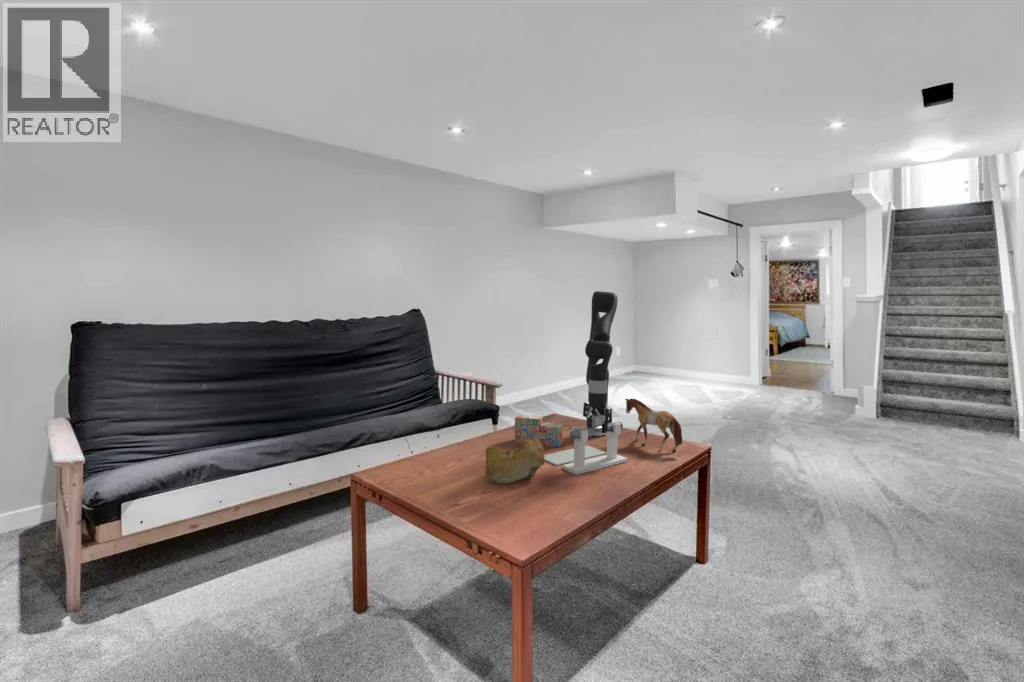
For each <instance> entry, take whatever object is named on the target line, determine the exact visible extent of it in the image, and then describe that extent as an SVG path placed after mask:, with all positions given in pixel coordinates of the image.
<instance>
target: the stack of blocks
mask: <svg viewBox="0 0 1024 682" xmlns="http://www.w3.org/2000/svg"><path fill="white" fill-rule="evenodd" d="M532 438H537V439H539V441H540V443H541V444H542V446H543V447H544V446H545V447H546V446H547V447H554V448H555V447H556V448H560V447H561V445H562V444H563V424H562V423H554V422H553V423H552V422H544V415H534V414H533V415H532V414H523V413H521V414H520V413H518V414H517V415H516V416H515V417H514V443H516V442H521V443H520V444H523V443H524V442H525V441H527V440H529V439H532Z"/></svg>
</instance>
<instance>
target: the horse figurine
mask: <svg viewBox="0 0 1024 682" xmlns="http://www.w3.org/2000/svg"><path fill="white" fill-rule="evenodd" d="M624 400H625V401H626V403H625V404H626V407H625V413H626V414H631V411H632V410H633V409H635V411H636V413H637V414H638V417H637V418H638V419H637V420H638V421H639V423H640V425H639V426H638V428H637V431H636V435H635V441H639V440H640V438H639V434H640V431H641V430H643V434H644V441H643V442H642V443H641V445H642V444H645V445H646V444H647V442H648V427H647V425H650V426H657V427H658V429H660V432H661V433H662V434H663V435H664V438H663V440H662V441H661V442H660V445H659V450H660V449H661V450H662V449H663V448H664V446H663V445H664V444H665V443H666V441H667V439H669V437H670V433H671V435H672V436H673V438H674V447H673V448H672V449H673V450H672V451H674V450H675V451H677V450H678V446H680V445H681V446H682V445H683V434H682V432H683V431H682V427H681V424H680V422H679V421H678V419H676V417H675V416H674V415H673V414H672V413H670V412H668V411H666V410H653V409H651V408H650V407H649V406H647V404H645V403H643V402H642V401H641V400H638V399H635V398H629V399H628V398H625V399H624ZM667 428H669V431H670V433H668V431H667Z"/></svg>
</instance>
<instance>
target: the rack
mask: <svg viewBox="0 0 1024 682" xmlns="http://www.w3.org/2000/svg"><path fill="white" fill-rule="evenodd" d="M615 423H616V424H614V426H613V431H612V432H607V435H606V452H607V454H604V455H600V456H596V457H592V458H588V459H585V446H586V442H588V441H589V436H588V430H581V428H580V426H573V427H571V431H575V430H581V431H580V438H578V439H573V449H574V462H571V463H567V464H562V470H564V471H566V470H567V471H566V472H568V473H571V474H573V475H575V474H576V476H577V474H578V475H581V473H582V474H585V472H586V473H589V471H590V472H593V471H597V470H600V469H605V468H609V467H612V466H611V465H613V466H616V465H615V464H617V465H620V464H619V463H621V464H623V463H622V462H624V463H626V462H625V461H627V462H628V457H625V456H623V455H620V454H618V442H619V441H618V439H619V438H618V437H619V435H621V434H622V432H621V430H622V429H621V424H620V423H617V422H615ZM608 424H611V423H608ZM608 466H609V467H608ZM604 467H605V468H604Z"/></svg>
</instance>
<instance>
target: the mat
mask: <svg viewBox="0 0 1024 682" xmlns="http://www.w3.org/2000/svg"><path fill="white" fill-rule="evenodd" d="M603 454H604V455H607V451H603V450H601V449H598V448H596V447H593V446H591V445H585V460H587V459H591V458H595V457H599V456H603ZM544 456H545V458H544V459H545V461H546V462H547V463H549V464H552V465H553V464H554V466H555V467H557V466H563V465H566V463H567V464H570V463H574V448H571V449H565V450H561V451H556V452H551V453H547V454H544ZM545 461H544V462H545Z"/></svg>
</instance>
